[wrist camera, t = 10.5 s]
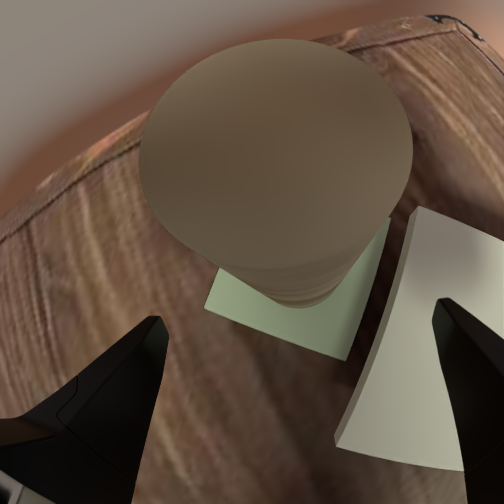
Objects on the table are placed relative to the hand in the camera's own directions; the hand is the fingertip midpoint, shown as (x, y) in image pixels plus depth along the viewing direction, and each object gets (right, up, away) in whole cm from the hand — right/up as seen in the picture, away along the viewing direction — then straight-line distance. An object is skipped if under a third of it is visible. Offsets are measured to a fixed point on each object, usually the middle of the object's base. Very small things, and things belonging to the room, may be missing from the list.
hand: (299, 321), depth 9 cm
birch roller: (+1, +1, +8) cm, 8 cm away
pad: (+1, +1, +9) cm, 9 cm away
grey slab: (+13, -5, +5) cm, 14 cm away
